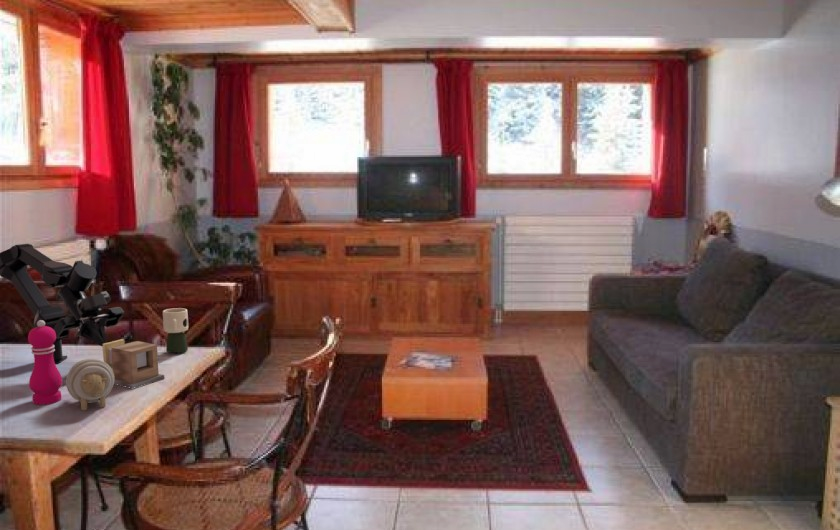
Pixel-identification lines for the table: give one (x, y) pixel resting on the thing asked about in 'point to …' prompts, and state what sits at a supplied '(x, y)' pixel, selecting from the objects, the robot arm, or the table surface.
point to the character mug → (176, 329)
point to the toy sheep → (90, 381)
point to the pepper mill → (44, 366)
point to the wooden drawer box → (135, 364)
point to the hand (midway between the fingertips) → (105, 345)
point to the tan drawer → (107, 346)
